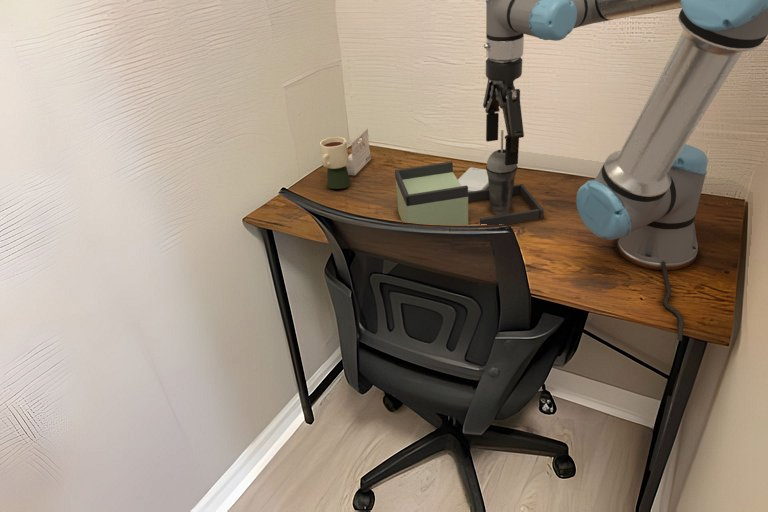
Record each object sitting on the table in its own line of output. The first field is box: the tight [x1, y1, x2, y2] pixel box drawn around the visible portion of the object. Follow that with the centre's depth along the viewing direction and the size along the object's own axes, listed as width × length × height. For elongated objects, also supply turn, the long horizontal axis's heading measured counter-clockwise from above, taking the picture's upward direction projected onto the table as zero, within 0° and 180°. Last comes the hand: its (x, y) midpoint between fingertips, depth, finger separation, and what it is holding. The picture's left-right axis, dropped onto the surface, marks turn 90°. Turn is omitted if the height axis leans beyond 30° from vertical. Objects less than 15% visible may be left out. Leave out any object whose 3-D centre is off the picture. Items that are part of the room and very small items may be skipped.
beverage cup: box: [485, 129, 519, 216], centre depth 138 cm, size 7×7×20 cm
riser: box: [394, 161, 545, 226], centre depth 140 cm, size 14×32×12 cm, turn 99°
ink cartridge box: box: [346, 128, 372, 176], centre depth 168 cm, size 2×11×10 cm, turn 157°
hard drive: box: [457, 166, 489, 192], centre depth 155 cm, size 2×8×12 cm
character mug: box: [319, 136, 351, 190], centre depth 158 cm, size 11×7×13 cm, turn 152°
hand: (501, 151), depth 135 cm, fingers open, 13 cm apart
